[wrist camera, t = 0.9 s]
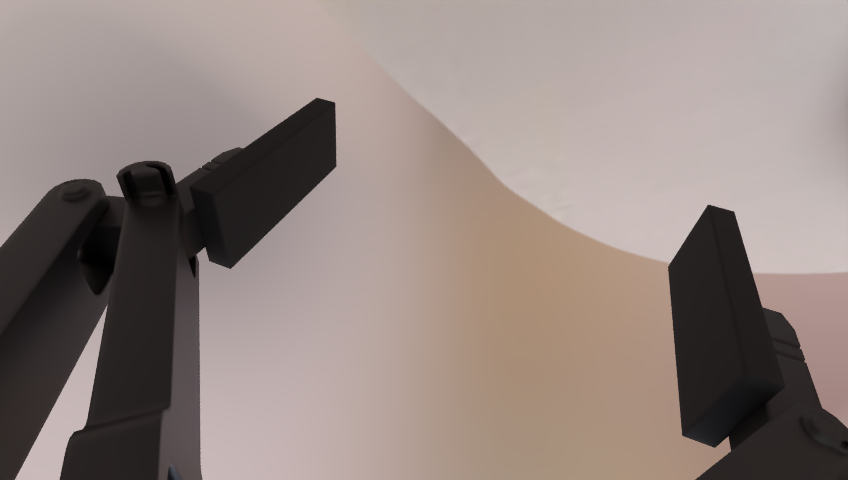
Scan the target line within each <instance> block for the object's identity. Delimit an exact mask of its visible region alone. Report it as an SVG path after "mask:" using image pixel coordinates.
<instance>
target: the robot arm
mask: <svg viewBox="0 0 848 480" xmlns="http://www.w3.org/2000/svg"><path fill="white" fill-rule="evenodd" d="M335 122H336V121H335V103H334V102H331V101H327V100H323V99H320V98H316V99H314V100H313V101H312V102H310V103H309V104H307V105H306V106H304V107H303V108H301V109H300V110H299V111H297V112H296V113H294V114H293V115H291V116H290V117H288V118H287V119H286V120H284V121H283V122H281V123H280V124H278V125H277V126H275V127H274V128H273V129H271V130H270V131H268V132H267V133H265V134H264V135H262V136H261V137H260V138H258V139H257V140H255V141H254V142H252V143H251V144H250V145H248V146H247V147H245V148H244V149H242V148H239V147H238V148H235V149H232V150H229V151H226V152H223V153H221V154H220V155H218V156H217V157H215V158H214V159H212V160H211V162H208V163H206V164H205V165H204V166H202V168H199V169H198V170H196V171H195V172H193V173H191V174H190V175H188V176H187V177H185V178H184V179H182V180H181V181H180V182H178V183H175V180H174V177H173V173H172V170H171V167H170V166H169V165H167V164H166V163H163V162H159V161H143V162H137V163H134V164H131V165H128V166H126V167H125V168H123V169H122V170H120V171H119V173H118V174H117V179H118V182H119V184H120V187H121V190H122V192H123V195H124V197H116V196H106V194H105V191H104V189H103V187H102V185H101V183H99V182H97V181H95V180H89V179H78V180H77V179H75V180H71V181H67V182H64V183H62V184H60V185H57V186H55V187H54V188H53V189H51V190H50V191H49V192H48V193H47V194H46V195H45V196H44V197H43V199H42V200H41V201H40V202H39V203H38V204H37V206H36V207H35V208H34V209H33V211H31V213H30V214H29V215H28V216H27V217H26V218H25V220H24V221H23V222H22V223H21V224H20V225H19V227H18V228H17V229H16V230H15V231H14V232H13V233H12V235H11V236H10V237H9V238H8V239H7V241H6V242H5V243H4V244H3V245H2V246H1V247H0V480H15V478H16V476H17V474H18V473H19V471H20V469H21V467H22V465H23V463H24V461H25V459H26V457H27V456H28V454H29V452H30V450H31V448H32V446H33V444H34V442H35V440H36V439H37V437H38V435H39V433H40V431H41V429H42V427H43V425H44V423H45V421H46V420H47V418H48V416H49V414H50V412H51V410H52V408H53V406H54V405H55V403H56V401H57V399H58V397H59V395H60V393H61V391H62V389H63V387H64V385H65V384H66V382H67V380H68V378H69V376H70V374H71V372H72V370H73V368H74V367H75V365H76V363H77V361H78V359H79V357H80V355H81V353H82V352H83V350H84V348H85V346H86V344H87V342H88V340H89V338H90V336H91V334H92V333H93V331H94V329H95V327H96V325H97V323H98V321H99V319H100V318H101V316H102V314H103V312H104V310H105V308H106V306H107V304H108V307H107V312H106V318H105V324H104V329H103V334H102V340H101V346H100V352H99V357H98V362H97V368H96V374H95V379H94V385H93V391H92V397H91V402H90V407H89V413H88V419H87V423H86V426H85V427H84V429H82V430H79V431H76V432H74V433H73V434H72V436H71V437H70V439H69V441H68V445H67V448H66V452H65V456H64V461H63V466H62V471H61V476H60V480H202V475H201V465H200V361H199V360H200V350H199V261H198V258H197V255H196V254H197V253H199V252H200V251H201V250H202V249H203V248H204V247H206V251H207V254H208V258H209V261H211V262H213V263H216V264H219V265H221V266H224V267H227V268H230V269H231V268H232V267H233V266H234V265H235V264H236V263H237V262H238V261H239V260H240V259H241V258H242V257H243V256H245V254H247V253H248V252H249V251H250V250H251V249H252V248H253V247H254V246H255V245H256V244H257V243H258V242H259V241H260V240H261V239H262V238H263V237H264V236H265V235H266V234H267V233H268V232H269V231H270V230H271V229H272V228H273V227H274V226H275V225H276V224H278V223H279V221H281V220H282V219H283V218H284V217H285V216H286V215H287V214H288V213H289V212H290V211H291V210H292V209H293V208H294V207H295V206H296V205H297V204H298V203H299V202H300V201H301V200H302V199H303V198H304V197H305V196H306V195H307V194H308V193H309V192H311V191H312V189H314V188H315V187H316V186H317V185H318V184H319V183H320V182H321V181H322V180H323V179H324V178H325V177H326V176H327V175H328V174H329V173H330V172H331V171H332V170H333V169H334V168H335V167H336V123H335ZM668 271H669V283H670V294H671V306H672V319H673V330H674V343H675V354H676V366H677V378H678V390H679V402H680V413H681V426H682V435H683V436H685V437H687V438H690V439H693V440H695V441H698V442H701V443H703V444H707V445H709V446H712V447H716V446H717V445H719V444H720V443H721V442H722V441H723V440H724V439H726V438H727V437H728V436H729V441H730V447H731V452H730V453H728V454H727V455H726V456H725V457H723V458H722V459H721V460H720V461H718V462H717V463H716V464H715V465H713V466H712V467H711V468H709V469H708V470H707V471H706V472H705V473H703V474H702V475H701V476H700V477H698V478H697V479H696V480H848V428H847V427H846V426H844V425H843V424H842V423H841V422H840V421H839V420H838V419H837V418H836V417H835V416H833V415H832V414H830V413H829V412H827V411H826V410H824V409H823V408H822V406H821V404H820V401H819V398H818V395H817V393H816V389H815V387H814V384H813V381H812V378H811V375H810V372H809V370H808V367H807V364H806V363H805V362H804V360H805V358H804V355H803V353H802V350H801V349H800V344H799V341H798V338H797V335H796V332H795V330H794V329H793V327H792V326H791V325H790V324H789V322H788V321H787V320H786V319H785V317H784V316H783V315H782V314H781V313H779V312H776V311H772V310H769V309H766V308H763V307H762V305H761V302H760V298H759V295H758V291H757V288H756V285H755V281H754V278H753V274H752V271H751V267H750V264H749V261H748V257H747V254H746V250H745V247H744V244H743V240H742V237H741V233H740V230H739V227H738V223H737V220H736V216H735V213H734V212H733V211H730V210H726V209H723V208H719V207H715V206H712V205H708V206H707V207H706V209H705V210H704V212H703V214H702V215H701V217H700V218H699V220H698V221H697V223H696V224H695V226H694V228H693V229H692V231H691V232H690V234H689V235H688V237H687V238H686V240H685V242H684V243H683V245H682V246H681V248H680V249H679V251H678V252H677V254H676V256H675V257H674V259H673V260H672V262H671V263H670V265H669V266H668Z"/></svg>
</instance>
